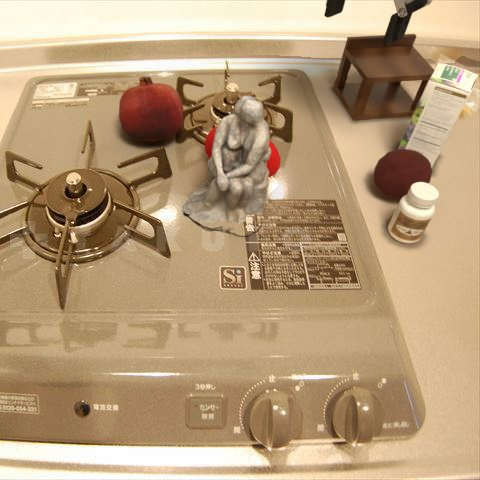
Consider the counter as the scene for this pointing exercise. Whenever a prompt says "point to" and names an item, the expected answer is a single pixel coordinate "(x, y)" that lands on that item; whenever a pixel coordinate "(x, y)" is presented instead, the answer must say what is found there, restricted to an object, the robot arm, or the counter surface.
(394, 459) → the counter surface
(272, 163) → the heart
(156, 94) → the fruit
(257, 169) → the sculpture
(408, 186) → the potato
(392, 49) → the rack
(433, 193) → the pill bottle
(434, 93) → the syrup box
